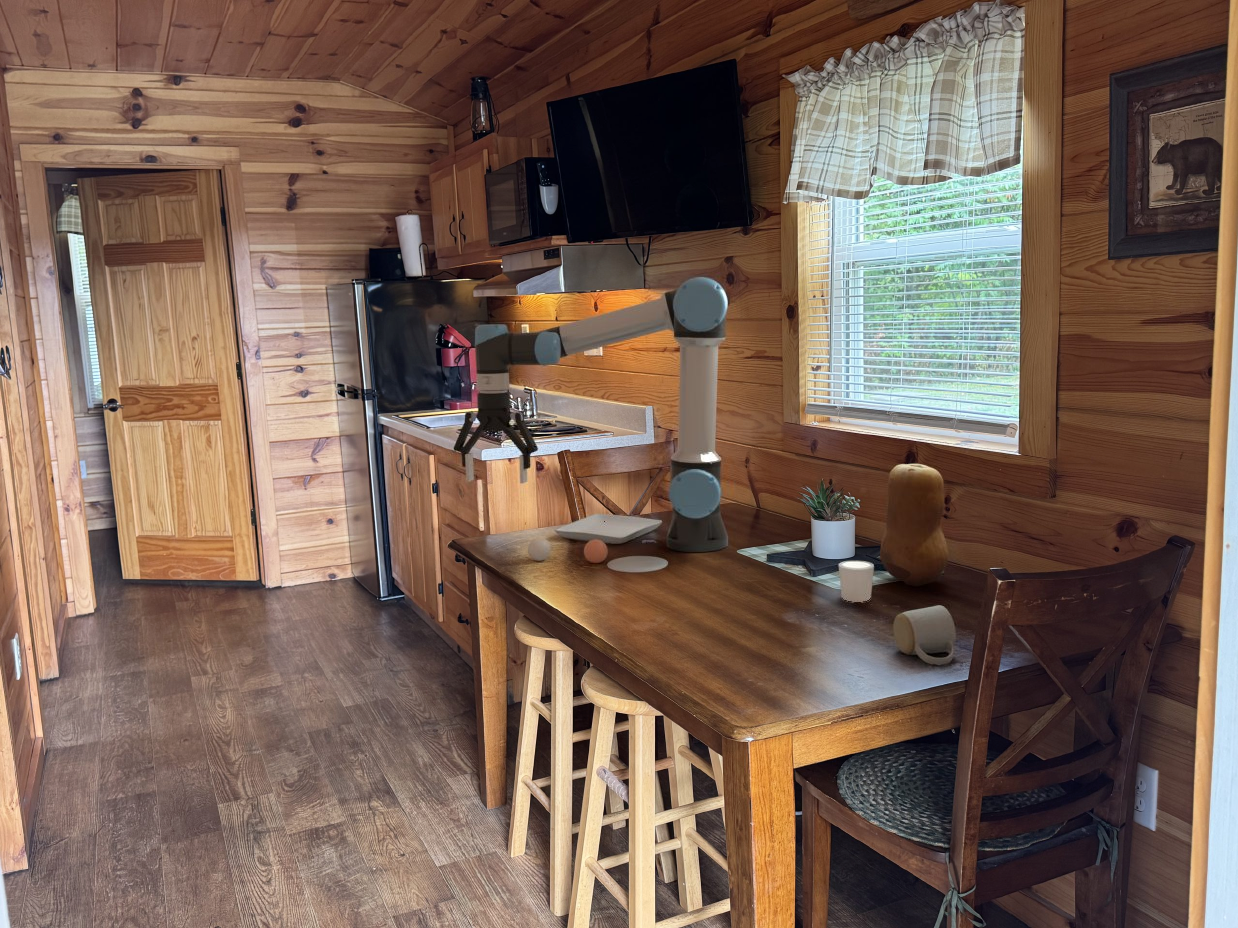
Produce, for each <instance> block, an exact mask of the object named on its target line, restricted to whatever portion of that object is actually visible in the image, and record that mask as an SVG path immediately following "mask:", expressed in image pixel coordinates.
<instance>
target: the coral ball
mask: <svg viewBox="0 0 1238 928" xmlns="http://www.w3.org/2000/svg"><path fill="white" fill-rule="evenodd" d="M583 549H584V550H583V554H584V557H585V558H586V560H587V561H588V562H590V563H593V564H599V563H602V562H603V561H604V560H605V559H606V558H607V556H608V554H609V553H608V552H609V551H608V546H607V545H606V543H604V542H602V541H601V540H596V539H595V540H591V541H587V543H586V544H585V545H584V548H583Z"/></svg>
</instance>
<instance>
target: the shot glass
mask: <svg viewBox="0 0 1238 928" xmlns="http://www.w3.org/2000/svg"><path fill="white" fill-rule="evenodd" d="M838 571H839V572H838V573H839V581H840V582H839V584H840V593H841V599H842V598H843V599H844V600H847V601H846V602H848V601H852V602H851V603H854V602H861V603H864V602H863V601H867V600H869V599H870V598H871V599H872V590H873V581H874V579H873V578H874V571H875V566H874V564H873V563H872V562H870V561H864V560H845V561H842V562H841V561H840V563H838ZM843 599H842V600H843ZM871 599H870V600H871ZM844 600H843V601H844ZM870 600H869V601H870ZM867 602H868V601H867Z"/></svg>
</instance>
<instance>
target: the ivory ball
mask: <svg viewBox="0 0 1238 928" xmlns="http://www.w3.org/2000/svg"><path fill="white" fill-rule="evenodd" d="M551 552H552V546H551V543H550V542H549V541H548V539H545V538H544V537H536V538H533V539H532V540H530V542H529V544H528V546H527V553H528V556H529V557H530V558H531V559H532V560H534V561H537V562H541V561H545V560H547V559H548V558H549V556H550V555H551Z"/></svg>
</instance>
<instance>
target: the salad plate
mask: <svg viewBox="0 0 1238 928" xmlns="http://www.w3.org/2000/svg"><path fill="white" fill-rule="evenodd" d="M604 521H605V522H604ZM662 523H663V521H662V520H660V519H655V518H654V519H653V518H645V517H637V516H628V515H620V514H618V515H617V514H606V513H595V514H592V515H589V516H586V517H584V518H581V519H578V520H575V521H573V522H571V523H569V524H565V525H563V526H560V527H558V528H556V529H554V532H555V533H556V534H557V535H559V536H560V537H563V538H566V539H571V540H575V541H583V542H584V541H585V542H589V541H591V540H595V539H596V540H601V541H602V542H604V543H605V544H609V543H610V544H612V545H620V544H625V543H626V542H629V541H631V540H634V539H637V538H638V537H641V536H643V535H645V534H647V533H650V532H652V531H654V530H655V529H657V528H658V527H659V526H660V525H662ZM636 537H637V538H636Z"/></svg>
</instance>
